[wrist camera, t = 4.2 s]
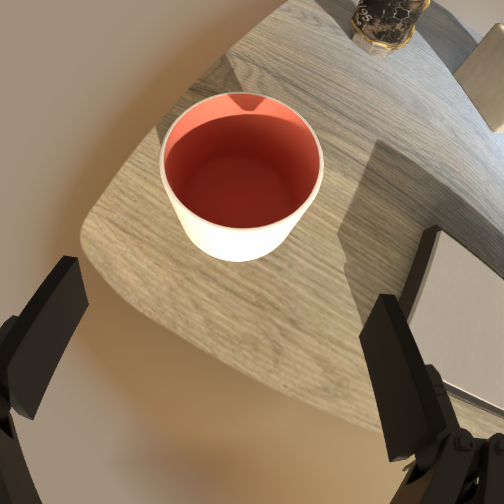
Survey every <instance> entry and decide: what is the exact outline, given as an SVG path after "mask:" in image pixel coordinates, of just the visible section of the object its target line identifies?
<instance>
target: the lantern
mask: <svg viewBox="0 0 504 504" xmlns="http://www.w3.org/2000/svg"><path fill="white" fill-rule="evenodd" d="M429 4H430V0H360V1H359V3H358V6H357V8H356V10H355V13H354V15H353V17H352V19H351V22H352V25H353V27H352V29H351V32H350V33H351V38H352V41H353V42H354V43H356V44H357V45H358V46H360V47H361V48H362V49H363V50H365V51H366V52H367V53H368V54H371V55H375V56H379V57H382V58H384V57H386V56H388V55H390V54H392V53H393V52H394V50H397V49H400V48H402V47H404V46H405V45H406V44H407V43H408V42H409V41H410V39H411V37H412V35H413V33H414V29H415V23H416V21H417V19H418V17H419V15H420V14H421V12H422V11H424V10H425V9H426V8H427V7H428V6H429Z"/></svg>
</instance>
